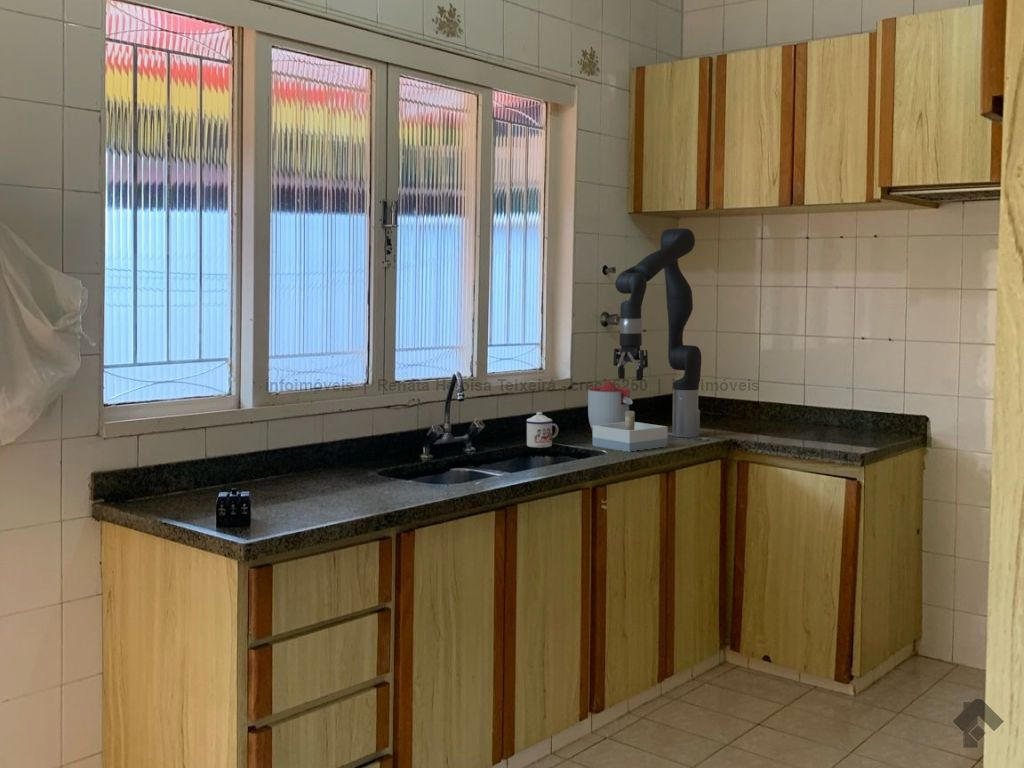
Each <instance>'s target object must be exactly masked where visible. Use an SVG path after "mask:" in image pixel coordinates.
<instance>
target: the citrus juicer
mask: <svg viewBox="0 0 1024 768" xmlns="http://www.w3.org/2000/svg"><path fill="white" fill-rule="evenodd" d="M630 390H631V389H630V388H629V387H624V386H623V387H622V386H616V385H615V384H614V383H613V382H612V381H611V380H607V381H605V382H604V384H602V386H595V387H594V386H593V387H588V388H587V393H588V394H587V414H588V422H589V425H590V429H591V432H592V433H593V425H602V424H611V423H620V422H625V411H630V405H632V404H633V403H634V402H633V399H631V398H630V396H631V395H630V392H631V391H630Z"/></svg>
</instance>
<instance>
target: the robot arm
mask: <svg viewBox="0 0 1024 768" xmlns="http://www.w3.org/2000/svg"><path fill="white" fill-rule="evenodd" d="M695 238H696V237H695V235H694V232H693V231H692V230H691V229H689V228H686V227H685V228H680V227H679V228H668V229H666V228H665V230H663V231H662V233H661V235H660V249H659V250H656V251H654V252H652V253H650V254H648V255H646V256H645V257H644V258H643V259H641V260H640V261H639V262H638V263H637V264H636V265H634V266H631V267H629V268H628V269H627V268H626V269H625V270H624V271H621V273H619V274H618V275H617V277H616V279H615V284H614V285H615V289H616V291H617V292H618V293H620V294H627V295H630V297H629V299H627V300H625V301H622V302H621V303H620V306H619V307H620V311H619V315H620V316H619V317H620V319H619V343H618V344H619V346H620V347H619V348H618V347H616V348H614V349H613V362H612V363H613V366H614V367H617V377H618V379H619V380H623V379H625V377H626V376H625V375H626V371H625V370H626V368H625V366H626V365H627V363H632V364H633V365H634V366H635V369H636V370H635V373H636V375H635V377H636V378H635V379H636V381H642V380H643V377H644V369H646V368H649V359H648V358H649V356H648V350H647V349H641V346H642V344H643V343H642V342H643V340H642V339H643V332H642V331H643V323H642V306H643V301H644V297H645V294H646V292H647V291H646V290H647V287H648V286H647V282H649V281H651V280H652V279H653V278H654V277H655V276H657V275H658V274H659V273H660V272H661V271H662V270H663V269H664V270H663V271H664V281H665V295H666V297H665V298H666V307H667V308H666V311H667V319H668V320H667V321H668V322H667V323H668V342H667V344H668V345H667V346H668V348H667V354H668V355H667V356H668V363H669V366H670V368H671V369H673V370H675V371H684V373H683V376H682V377H681V378H679V379H676V380H674V381H673V382H672V425H671V426H672V428H671V430H672V431H671V432H672V434H671V435H672V437H675V438H697V437H698V436H700V435H701V433H700V432H701V431H700V430H701V429H700V428H701V422H700V421H701V410H700V409H699V390H700V389H699V387H700V382H701V373H702V352H701V349H700V348H699V347H698V346H697V345H692V344H691V345H690V344H688V345H687V344H684V341H683V339H684V331H685V326H686V325H687V323H688V321H689V320H690V317H691V315H692V313H693V309H694V308H693V307H694V304H693V291H692V288H691V286H690V284H689V282H688V280H687V279H686V278H685V276H684V274H683V273H682V271H681V269H680V266H679V261H678V259H680V258H682V257H684V256H687V255H688V254H689V253H691V252H692V251H693V249H694V247H695V243H696V239H695Z"/></svg>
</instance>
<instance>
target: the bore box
mask: <svg viewBox="0 0 1024 768" xmlns="http://www.w3.org/2000/svg"><path fill="white" fill-rule="evenodd" d="M668 427H669V426H665V425H660V424H659V425H658V424H651V423H645V422H639V421H635V426H634V430H625V422H620V423H611V424H602V425H593V432H592V446H593V447H598V448H603V449H609V450H616V451H620V450H622V451H621V452H626V451H628V452H627V453H632V452H631V451H634V452H638V451H637V450H641V451H645V450H644V449H648V450H652V449H651V448H656V449H659V448H658V447H663V448H667V447H668ZM666 446H667V447H666Z"/></svg>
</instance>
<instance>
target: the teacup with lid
mask: <svg viewBox="0 0 1024 768" xmlns="http://www.w3.org/2000/svg"><path fill="white" fill-rule="evenodd" d="M525 422H526V446H527V447H529V448H537V449H539V448H541V449H542V448H549V447H550V448H551V447H552V445H553V439H554V438H555V437H557V435H558V434H559V433H558V432H559V426H558V425H557V424H556V423H553V419H552V418H549V417H548V416H546V415H544V414H543V412H542V411H537V412H536V414H535V415H533V416H531V417H529V418H527V419H526V421H525ZM553 427H554V428H555V429H554V433H553Z"/></svg>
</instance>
